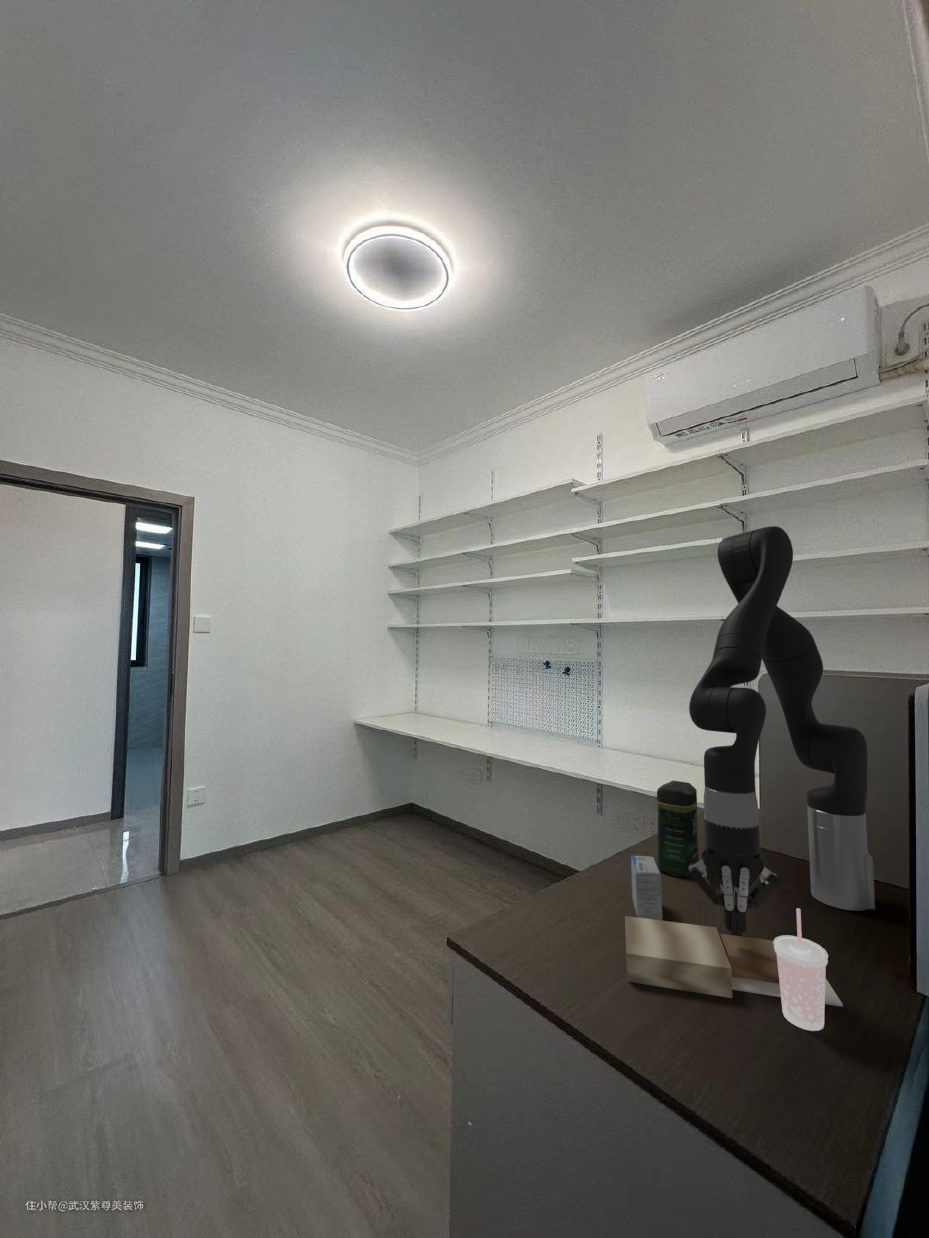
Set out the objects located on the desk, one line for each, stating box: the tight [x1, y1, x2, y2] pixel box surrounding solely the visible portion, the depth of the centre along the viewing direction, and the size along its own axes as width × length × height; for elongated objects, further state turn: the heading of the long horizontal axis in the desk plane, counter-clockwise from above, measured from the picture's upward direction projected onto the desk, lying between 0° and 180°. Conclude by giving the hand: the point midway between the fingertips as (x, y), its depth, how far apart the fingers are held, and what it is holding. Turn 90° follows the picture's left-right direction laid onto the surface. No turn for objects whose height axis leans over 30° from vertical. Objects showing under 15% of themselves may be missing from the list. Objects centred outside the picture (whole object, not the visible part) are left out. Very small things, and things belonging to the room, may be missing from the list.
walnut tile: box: [719, 933, 780, 984], centre depth 79 cm, size 9×6×3 cm, turn 75°
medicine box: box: [630, 855, 664, 921], centre depth 97 cm, size 8×4×9 cm, turn 168°
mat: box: [732, 977, 844, 1007], centre depth 77 cm, size 14×9×1 cm, turn 74°
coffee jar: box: [656, 780, 700, 877], centre depth 115 cm, size 10×8×19 cm
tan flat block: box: [624, 915, 733, 999], centre depth 80 cm, size 14×11×4 cm
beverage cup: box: [773, 907, 829, 1032], centre depth 69 cm, size 6×6×14 cm
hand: (735, 932), depth 79 cm, fingers closed
